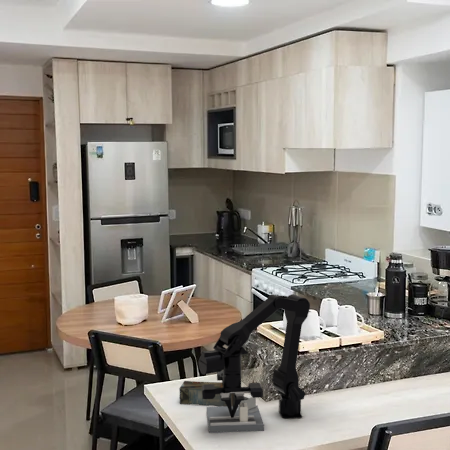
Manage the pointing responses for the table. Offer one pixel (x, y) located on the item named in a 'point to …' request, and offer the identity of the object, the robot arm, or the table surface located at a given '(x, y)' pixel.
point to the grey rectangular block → (249, 401)
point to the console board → (233, 420)
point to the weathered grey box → (200, 394)
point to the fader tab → (243, 412)
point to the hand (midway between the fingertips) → (232, 417)
